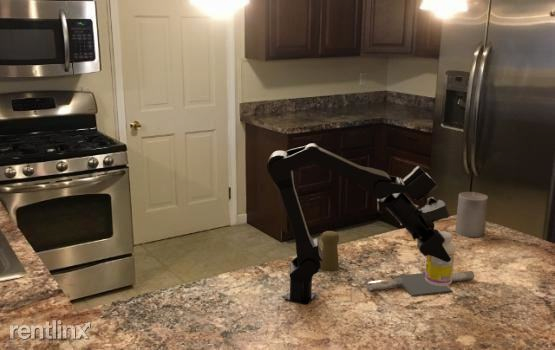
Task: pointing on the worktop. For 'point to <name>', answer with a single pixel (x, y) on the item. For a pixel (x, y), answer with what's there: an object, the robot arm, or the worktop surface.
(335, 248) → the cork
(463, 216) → the pillar candle
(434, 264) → the supplement bottle
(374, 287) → the steel shafts
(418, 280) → the rubber pad
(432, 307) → the worktop surface
